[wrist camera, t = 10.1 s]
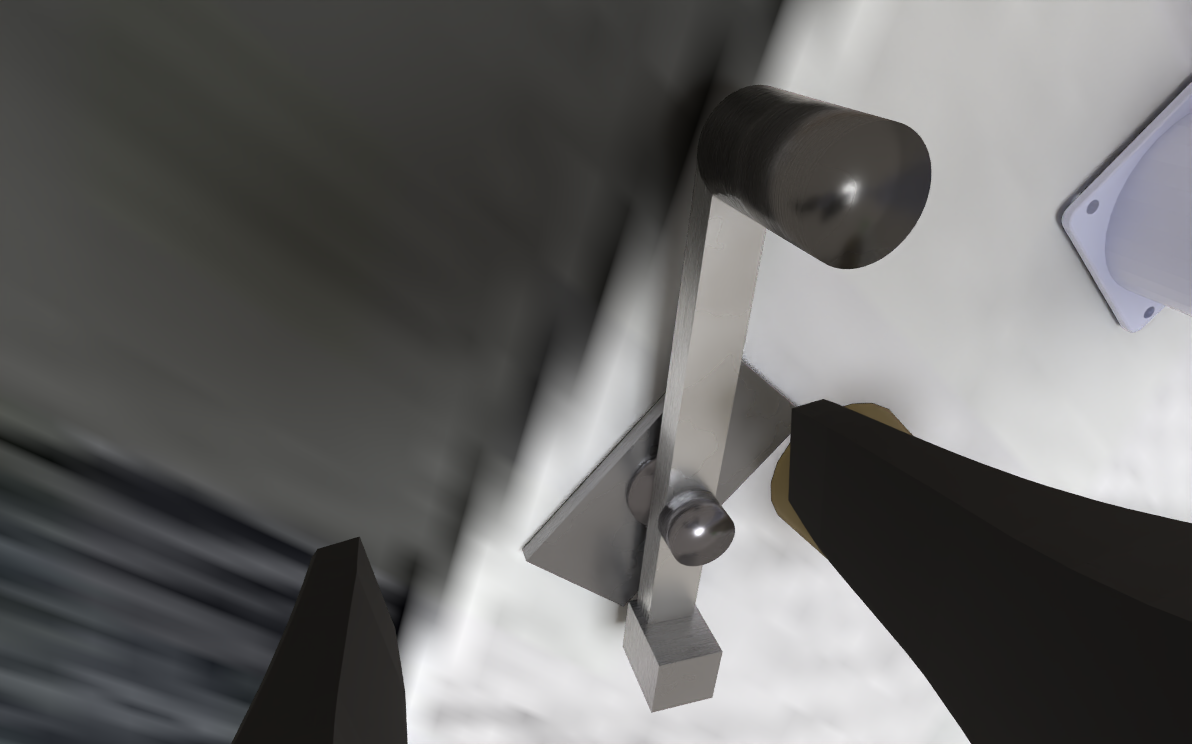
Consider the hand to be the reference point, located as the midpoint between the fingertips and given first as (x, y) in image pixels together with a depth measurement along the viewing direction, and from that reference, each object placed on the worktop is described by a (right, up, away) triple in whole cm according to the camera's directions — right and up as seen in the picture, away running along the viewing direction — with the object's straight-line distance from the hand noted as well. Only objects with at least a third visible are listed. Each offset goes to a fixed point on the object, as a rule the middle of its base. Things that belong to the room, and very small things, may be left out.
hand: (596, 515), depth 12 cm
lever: (+3, +1, +12) cm, 12 cm away
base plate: (+2, -1, +14) cm, 15 cm away
